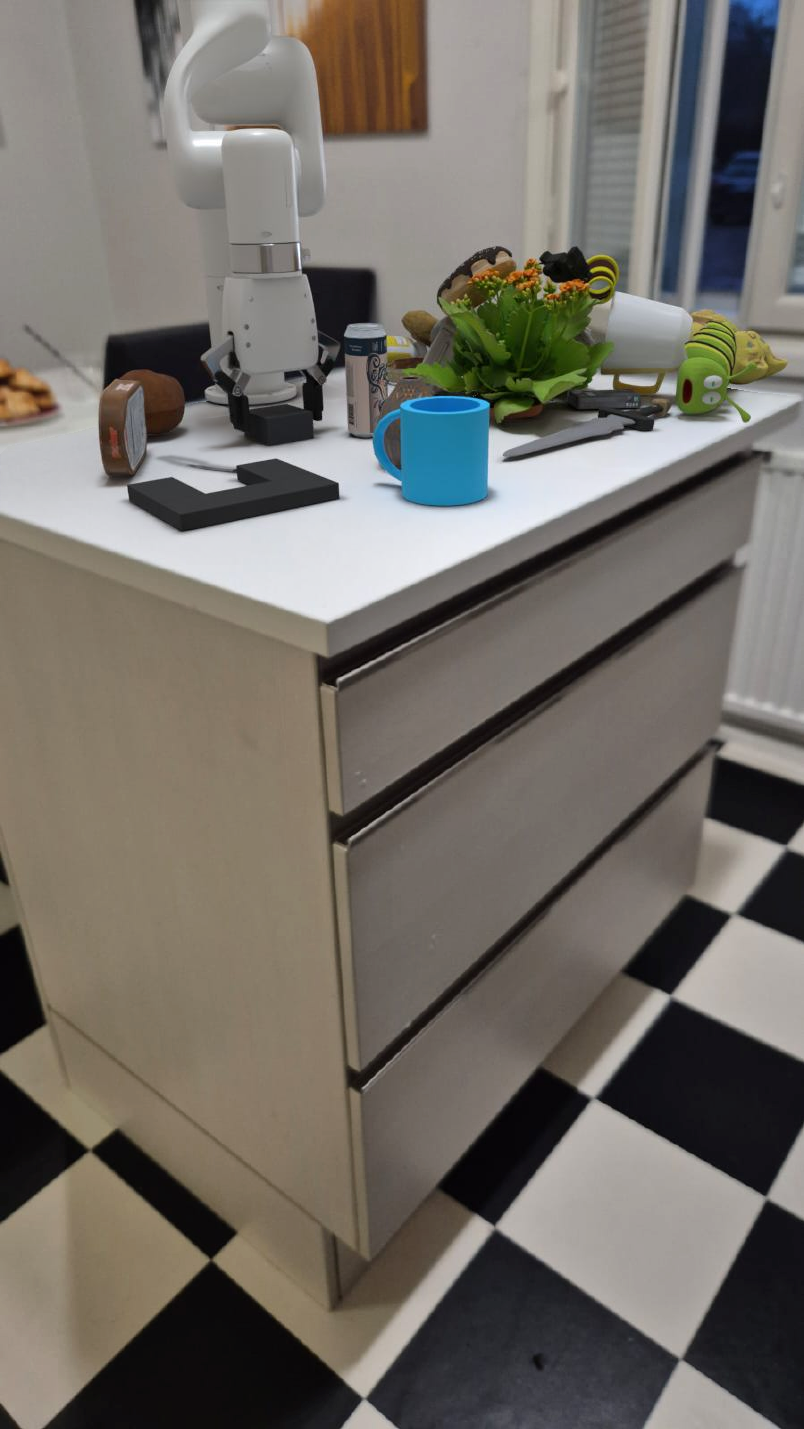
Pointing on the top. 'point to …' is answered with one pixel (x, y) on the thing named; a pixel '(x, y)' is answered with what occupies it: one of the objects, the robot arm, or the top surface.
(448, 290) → the donut
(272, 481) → the base pad
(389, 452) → the vase
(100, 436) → the tin
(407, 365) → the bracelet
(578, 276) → the toy gun
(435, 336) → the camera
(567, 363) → the potted flower
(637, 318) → the mug
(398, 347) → the supplement bottle
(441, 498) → the mug
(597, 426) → the dagger
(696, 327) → the figurine
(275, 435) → the small pad
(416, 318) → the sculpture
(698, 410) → the toy
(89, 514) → the top surface
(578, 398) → the mini dv tape
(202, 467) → the knife
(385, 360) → the beer can
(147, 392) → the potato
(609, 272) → the opera glasses
